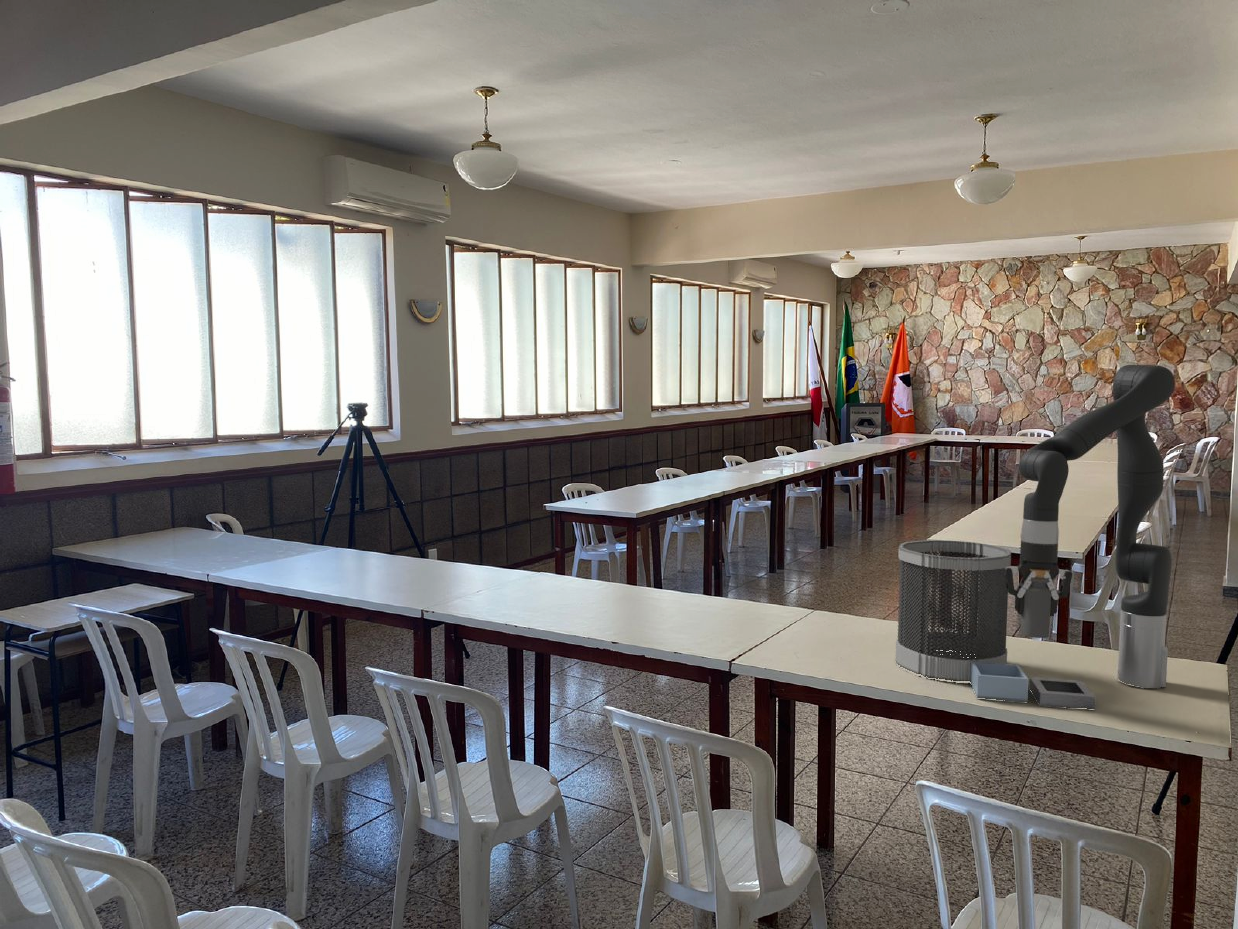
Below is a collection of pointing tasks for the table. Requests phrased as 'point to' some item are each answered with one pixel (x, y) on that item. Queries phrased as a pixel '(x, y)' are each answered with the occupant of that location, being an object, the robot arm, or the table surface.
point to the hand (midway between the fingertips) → (1035, 614)
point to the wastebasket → (987, 602)
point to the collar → (1062, 693)
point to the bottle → (1036, 607)
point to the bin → (999, 681)
